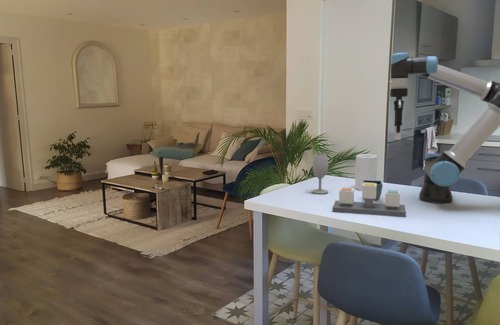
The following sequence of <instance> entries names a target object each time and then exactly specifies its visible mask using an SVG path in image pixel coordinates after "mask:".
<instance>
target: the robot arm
mask: <svg viewBox="0 0 500 325" xmlns="http://www.w3.org/2000/svg"><path fill="white" fill-rule="evenodd" d="M390 61H391V62H390V80H389V81H388V82H389V84H390V90H389V91H390V93H389V94H390V95H389V96H390V97H391V98H395V100H394V101H393V105H394V106H393V107H394V121H393V122H394V124H393V126H394V140H395V141H398V140H399V141H401V140H402V125H403V110H404V103H405V101H404V100H403V97H404V98H405V97H406V98H407V97H408V95H409V94H408V93H409V89H408V87H409V75H414V76H415V75H416V76H419V77H422V78H426V79H429V80H431V81H434V82H437V83H439V84H443V85H445V86H449V87H451V88H454V89H456V90H459V91H461V92H463V93H468V94H469V95H473V96H476V97H478V98H479V99H480V101H483V102H486V103H487V108H486V110H485V111H484V112H483V113H482V114H481V115H480V117H479V118H477V120H476V121H475V122H474V123H473V124H472V125H471V126H470V127H469V128H468V129H467V130H466V132H464V134H463V135H461V137H460V138H459V139H458V140H457V141H456V143H455V144H454V145H453V146H451V148H450V149H449V150H444V151H442V153H426V154H425V157H424V172H423V173H424V174H423V185H422V186H421V189H420V192H419V195H418V199H419V200H420V201H423V202H426V203H432V204H449V203H452V202H453V198H454V197H453V193H452V189H451V186H452V185H455V183H457V182H458V180H459V177H460V174H461V173H462V172H463V171H464V169H466V162H467V161H468V160H469V159H471V157H473V155H474V154H475V153H476V152H477V151H478V150H479V149H480V148H481V147H482V146H483V144H485V142H487V140H488V139H489V138H490V137H491V136H492V135H493V134H494V133H495V132H496V131H497V129H499V127H500V82H497V81H494V80H488V81H487V80H484V79H481V78H479V77H475V76H472V75H469V74H466V73H463V72H462V71H461V72H460V71H458V70H455V69H453V68H450V67H447V66H444V65H441V64H439V60H438V57H437V56H436V55H428V56H425V55H424V56H415V57H413V56H410V53H409V52H396V53H393V54H392V55H391V60H390Z"/></svg>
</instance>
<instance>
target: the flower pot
mask: <svg viewBox="0 0 500 325" xmlns="http://www.w3.org/2000/svg"><path fill="white" fill-rule="evenodd" d="M365 182H367V183H377V188H376V199H373V202H378V201H379V200H380V198H381V195H382V192H383V191H382V190H383V181H381V180H376V181H371V180H363V183H365Z"/></svg>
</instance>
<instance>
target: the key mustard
mask: <svg viewBox="0 0 500 325" xmlns="http://www.w3.org/2000/svg"><path fill="white" fill-rule="evenodd" d="M376 188H377V183H367V182H365V183H363V185H362V190H361V199H365V198H369V199H376Z"/></svg>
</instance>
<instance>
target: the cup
mask: <svg viewBox="0 0 500 325" xmlns="http://www.w3.org/2000/svg"><path fill="white" fill-rule="evenodd" d="M377 169H378V156H377V155H376V154H369V153H361V154H357V155H356V156H355V176H354V178H355V182H354V184H355V185H354V188H355V189H356V190H358V191H362V185H363V180H371V181H377V175H378V174H377V173H378V172H377V171H378V170H377Z"/></svg>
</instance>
